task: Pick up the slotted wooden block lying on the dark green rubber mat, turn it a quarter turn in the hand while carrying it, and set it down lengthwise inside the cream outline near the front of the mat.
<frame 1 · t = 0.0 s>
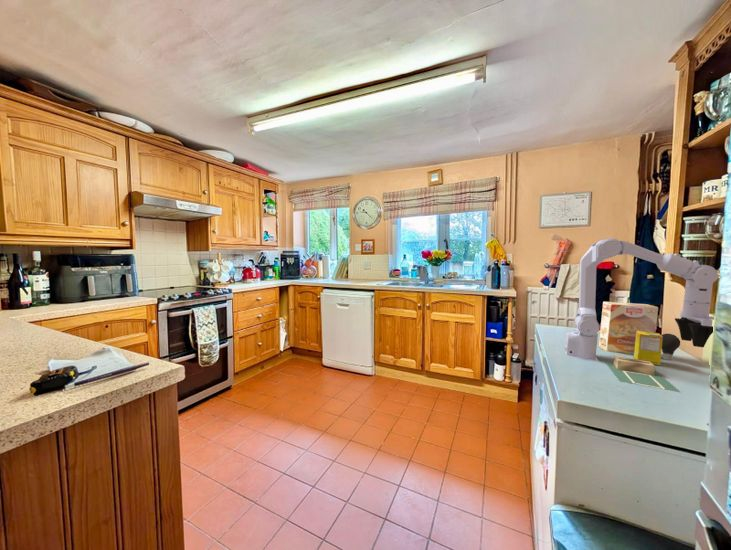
hand: (692, 343, 94), 10 cm above the table, fingers open, 7 cm apart
supplement box: (646, 363, 103), on the table
coffeecake box: (624, 352, 115), on the table
green mat: (638, 377, 91), on the table
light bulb: (666, 360, 107), on the table
slotted wooden block: (632, 369, 95), point 1 cm above the table, touching green mat
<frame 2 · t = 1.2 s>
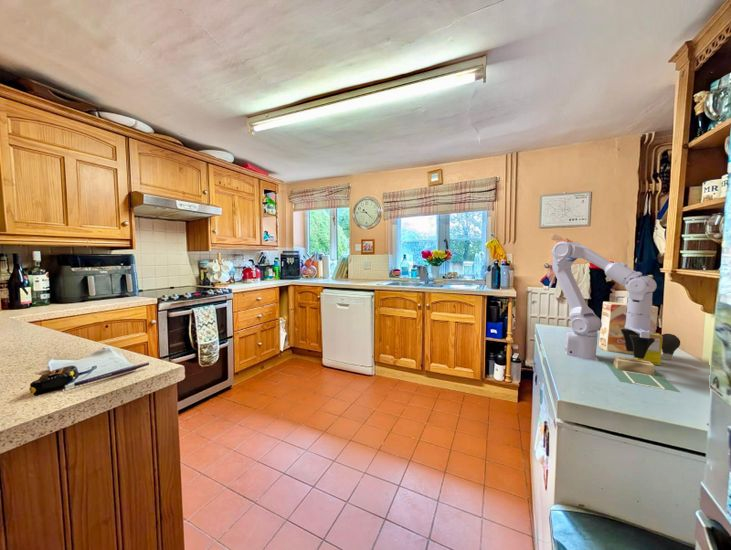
hand: (634, 354, 95), 6 cm above the table, fingers open, 7 cm apart
nothing on the table moved.
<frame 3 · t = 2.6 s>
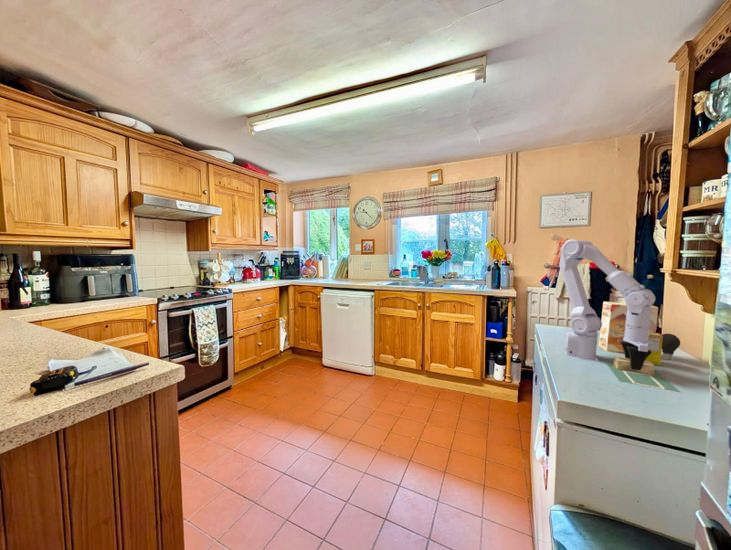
hand: (633, 366, 95), 2 cm above the table, fingers closed on slotted wooden block, 4 cm apart
slotted wooden block: (632, 369, 95), point 1 cm above the table, touching green mat, gripper
everything else where it was.
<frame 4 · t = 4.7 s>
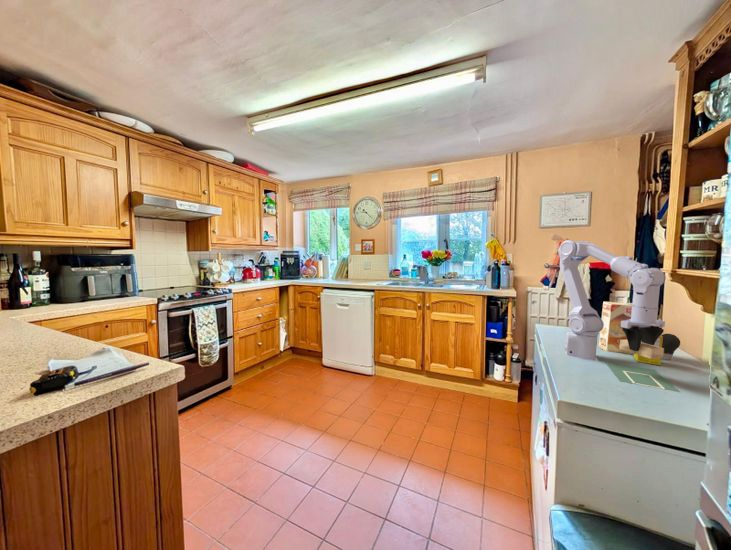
hand: (640, 349, 91), 9 cm above the table, fingers closed on slotted wooden block, 4 cm apart
slotted wooden block: (640, 353, 91), point 8 cm above the table, touching gripper
everything else where it was.
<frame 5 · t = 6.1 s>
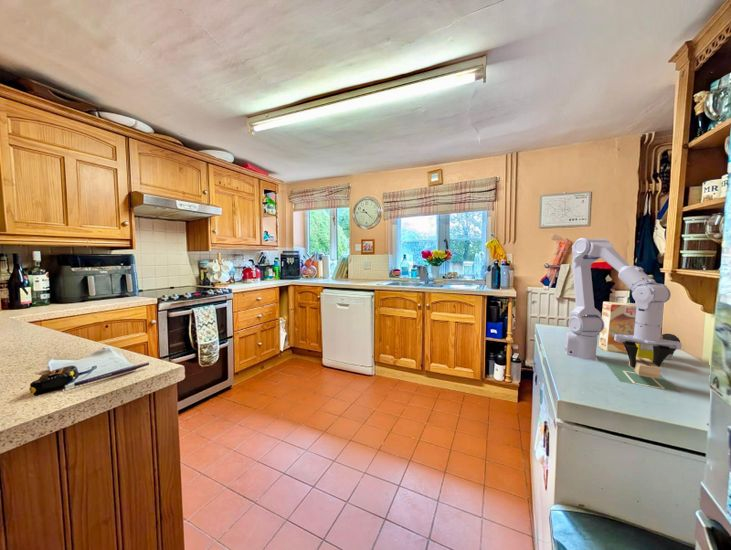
hand: (643, 368, 87), 4 cm above the table, fingers closed on slotted wooden block, 4 cm apart
slotted wooden block: (643, 371, 87), point 3 cm above the table, touching gripper
everything else where it was.
when the fingers open (3 cm above the table, at t = 7.2 s): slotted wooden block drops 1 cm, resting on green mat.
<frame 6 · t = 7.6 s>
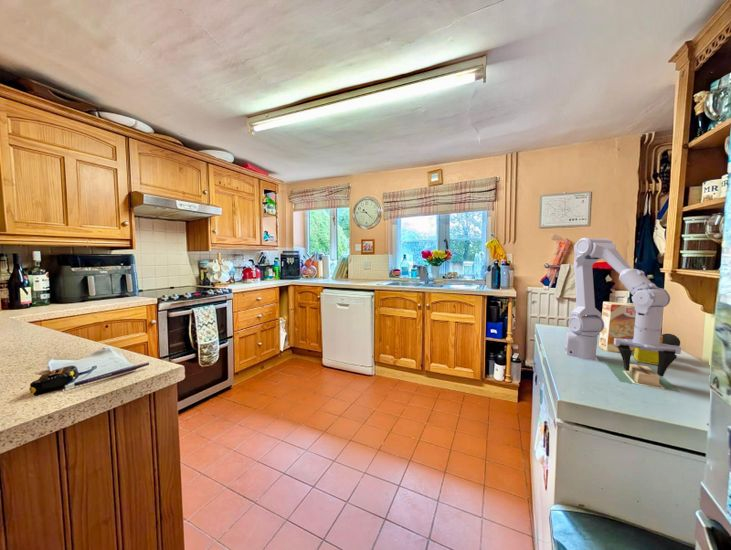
hand: (643, 372, 88), 3 cm above the table, fingers open, 7 cm apart
slotted wooden block: (642, 379, 88), point 1 cm above the table, touching green mat
everything else where it was.
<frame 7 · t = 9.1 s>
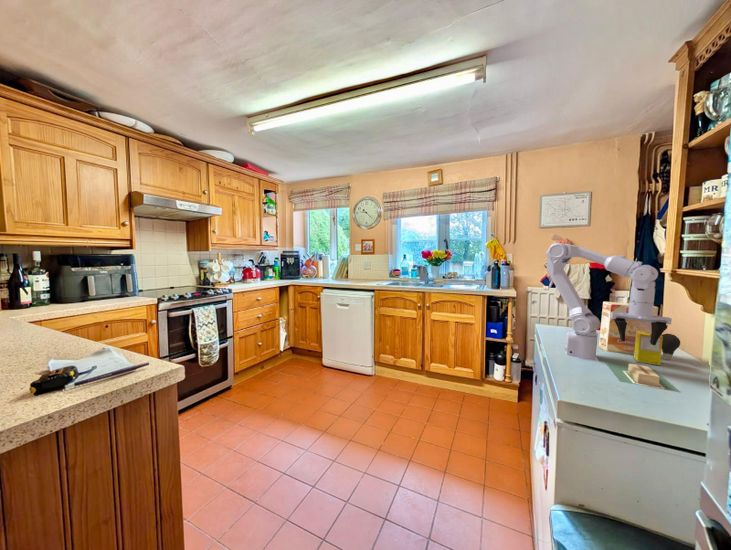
hand: (637, 342, 96), 9 cm above the table, fingers open, 7 cm apart
nothing on the table moved.
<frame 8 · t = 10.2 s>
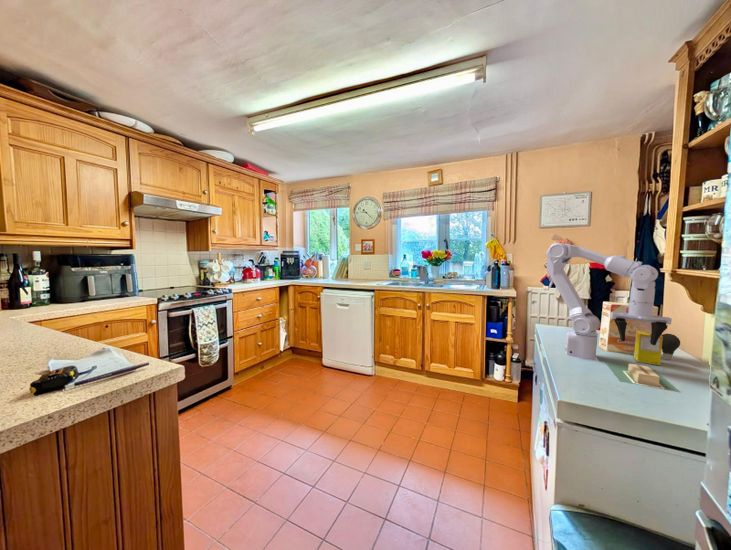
hand: (637, 342, 96), 9 cm above the table, fingers open, 7 cm apart
nothing on the table moved.
at the end: slotted wooden block 0.0 cm from the target spot, point 0.6 cm above the table; slotted wooden block tilted 0°; the gripper is holding nothing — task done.
